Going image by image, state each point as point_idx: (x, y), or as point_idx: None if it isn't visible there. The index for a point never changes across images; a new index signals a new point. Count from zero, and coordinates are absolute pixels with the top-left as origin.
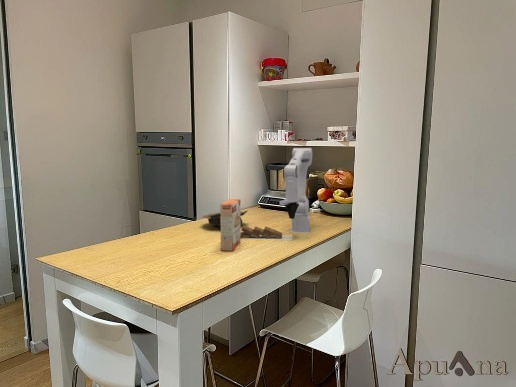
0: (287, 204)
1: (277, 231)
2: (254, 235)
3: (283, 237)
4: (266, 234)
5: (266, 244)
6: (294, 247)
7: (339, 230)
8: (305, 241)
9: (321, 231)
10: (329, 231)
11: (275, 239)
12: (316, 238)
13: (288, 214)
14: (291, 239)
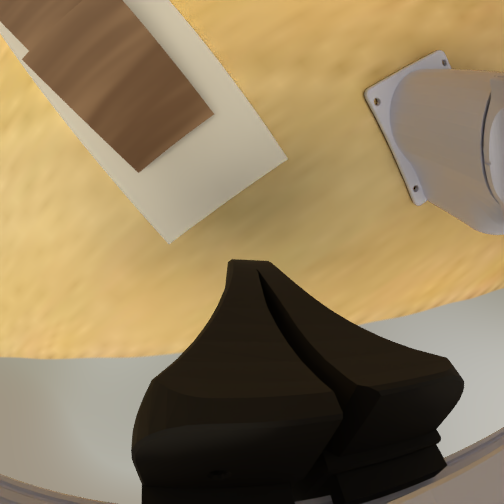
0: (146, 496)
1: (171, 88)
2: None
3: (188, 144)
4: None
5: (7, 166)
6: (93, 322)
7: (493, 282)
8: None
9: (467, 232)
10: (475, 262)
11: (99, 139)
12: (333, 300)
13: (227, 283)
14: (183, 229)
